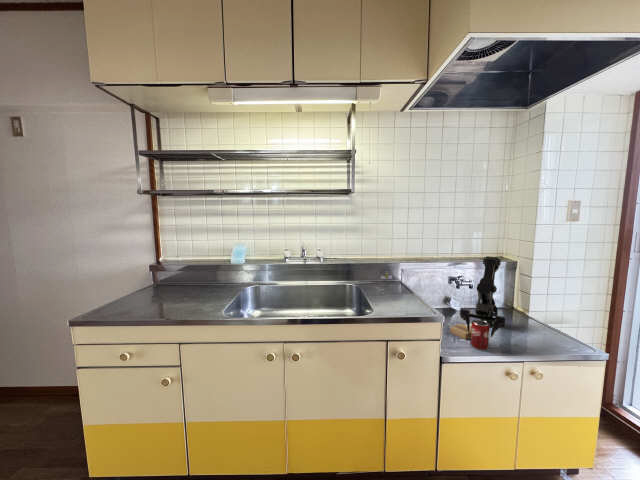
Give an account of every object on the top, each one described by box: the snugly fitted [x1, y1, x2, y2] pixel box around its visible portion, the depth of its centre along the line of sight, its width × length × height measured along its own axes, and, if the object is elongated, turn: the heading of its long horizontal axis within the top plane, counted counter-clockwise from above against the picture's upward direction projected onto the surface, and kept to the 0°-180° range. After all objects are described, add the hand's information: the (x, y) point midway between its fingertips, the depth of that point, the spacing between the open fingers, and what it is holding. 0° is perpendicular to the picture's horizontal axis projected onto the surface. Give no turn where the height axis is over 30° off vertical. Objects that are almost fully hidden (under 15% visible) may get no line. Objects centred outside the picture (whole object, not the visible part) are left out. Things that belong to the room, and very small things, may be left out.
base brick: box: [449, 323, 471, 341], centre depth 141 cm, size 9×9×3 cm
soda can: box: [470, 319, 491, 351], centre depth 128 cm, size 7×7×12 cm
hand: (479, 334), depth 126 cm, fingers open, 9 cm apart
